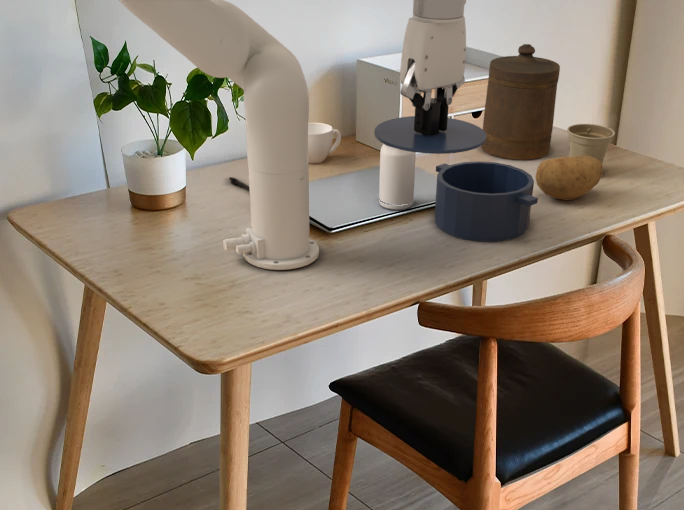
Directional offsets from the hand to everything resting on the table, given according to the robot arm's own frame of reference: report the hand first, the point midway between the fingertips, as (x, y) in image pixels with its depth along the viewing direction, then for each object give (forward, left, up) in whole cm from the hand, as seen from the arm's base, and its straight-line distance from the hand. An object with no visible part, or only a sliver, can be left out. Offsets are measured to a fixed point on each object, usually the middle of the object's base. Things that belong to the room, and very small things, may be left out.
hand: (430, 130), depth 145 cm
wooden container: (+44, +38, -21) cm, 62 cm away
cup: (+2, +49, -21) cm, 53 cm away
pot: (+15, +6, -20) cm, 26 cm away
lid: (0, 0, -1) cm, 1 cm away
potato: (+37, +10, -21) cm, 44 cm away
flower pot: (+49, +20, -21) cm, 57 cm away
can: (+5, +20, -21) cm, 29 cm away
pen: (-18, +38, -21) cm, 47 cm away
